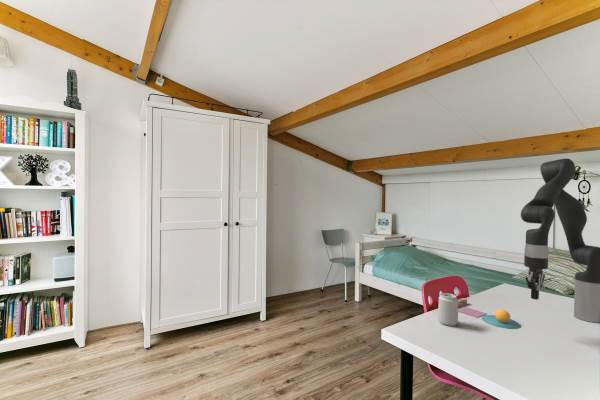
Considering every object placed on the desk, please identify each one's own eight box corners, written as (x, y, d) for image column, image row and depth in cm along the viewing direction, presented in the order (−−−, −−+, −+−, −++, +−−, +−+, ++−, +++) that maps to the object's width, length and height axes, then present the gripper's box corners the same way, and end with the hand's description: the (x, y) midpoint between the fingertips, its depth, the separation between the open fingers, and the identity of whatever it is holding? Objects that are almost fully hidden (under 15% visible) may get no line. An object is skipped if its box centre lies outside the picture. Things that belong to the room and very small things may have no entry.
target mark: (490, 313, 140) (490, 312, 140) (526, 324, 128) (526, 323, 128) (475, 319, 132) (475, 318, 132) (511, 331, 121) (511, 331, 121)
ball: (501, 306, 133) (514, 312, 128) (499, 318, 133) (512, 324, 128) (493, 307, 131) (506, 312, 126) (491, 319, 131) (504, 325, 126)
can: (453, 320, 131) (454, 292, 131) (460, 327, 123) (461, 298, 123) (435, 319, 131) (436, 291, 131) (441, 326, 124) (442, 297, 124)
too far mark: (467, 307, 146) (467, 307, 146) (487, 314, 139) (487, 313, 139) (457, 311, 141) (457, 310, 141) (477, 317, 134) (477, 317, 134)
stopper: (462, 302, 154) (463, 297, 154) (466, 303, 152) (467, 299, 152) (440, 309, 143) (440, 304, 143) (444, 311, 141) (444, 305, 141)
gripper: (531, 252, 127) (530, 293, 127) (518, 255, 120) (516, 298, 120) (553, 256, 121) (552, 299, 121) (541, 258, 113) (539, 304, 113)
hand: (534, 298), depth 120 cm, fingers closed
